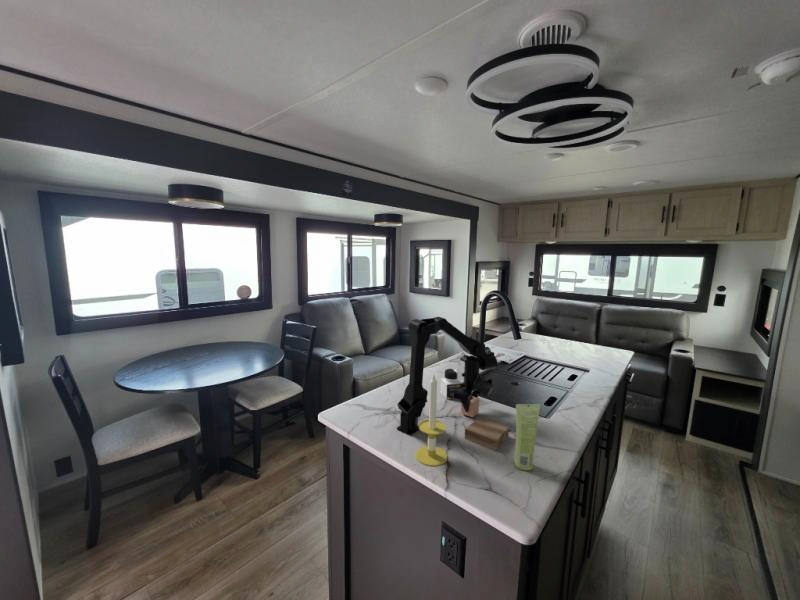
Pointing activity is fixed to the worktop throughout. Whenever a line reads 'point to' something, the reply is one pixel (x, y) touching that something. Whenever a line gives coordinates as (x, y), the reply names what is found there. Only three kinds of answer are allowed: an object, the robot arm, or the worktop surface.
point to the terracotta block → (471, 408)
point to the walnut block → (487, 433)
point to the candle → (432, 433)
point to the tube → (526, 434)
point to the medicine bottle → (450, 383)
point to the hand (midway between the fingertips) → (469, 409)
